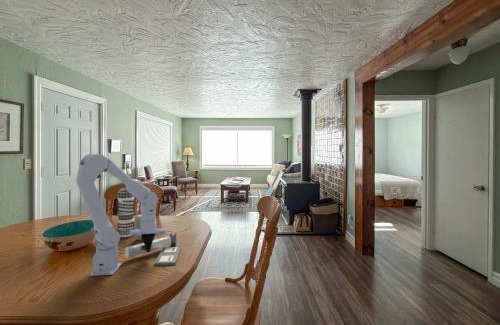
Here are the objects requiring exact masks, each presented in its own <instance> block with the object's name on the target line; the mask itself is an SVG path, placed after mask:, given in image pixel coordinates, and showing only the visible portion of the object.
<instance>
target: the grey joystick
mask: <svg viewBox="0 0 500 325" xmlns="http://www.w3.org/2000/svg"><path fill="white" fill-rule="evenodd" d="M169 237H171V245H169V246H166V247H180V242H179V243H177V233H169Z"/></svg>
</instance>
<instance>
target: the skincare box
mask: <svg viewBox="0 0 500 325" xmlns="http://www.w3.org/2000/svg"><path fill="white" fill-rule="evenodd" d="M136 229H141V214H138V215H135V230H136ZM135 237H136V238H135V239H136V240H138V241H139V240H141V241H142V239H141V237H142V235H135Z"/></svg>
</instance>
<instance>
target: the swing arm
mask: <svg viewBox="0 0 500 325" xmlns="http://www.w3.org/2000/svg"><path fill="white" fill-rule="evenodd" d="M169 245H171V237H170V236H164V237H160V238H156V239H153V242H152V245H151V251H150V252H152V251H155V250H159V249H163V247H167V246H169ZM145 253H148V252H147V251H146V247H145V244H144V242H142V243H141V242H140V243H137V244H135V245H130V246H126V247H125V248H124V256H125V257H127V258H128V259H129V258H131V257H135V256H139V255H141V254H143V255H144V254H145Z"/></svg>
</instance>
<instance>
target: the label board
mask: <svg viewBox="0 0 500 325" xmlns="http://www.w3.org/2000/svg"><path fill="white" fill-rule="evenodd" d="M181 250H182V246H179V247H167V246H166V247H163V248H161V251H160V252H159V254H158V256H157V257H156V260H155V262H154V264H153V265H154V267H158V266H176V265H177V261H178V258H179V256H180V252H181Z"/></svg>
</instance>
